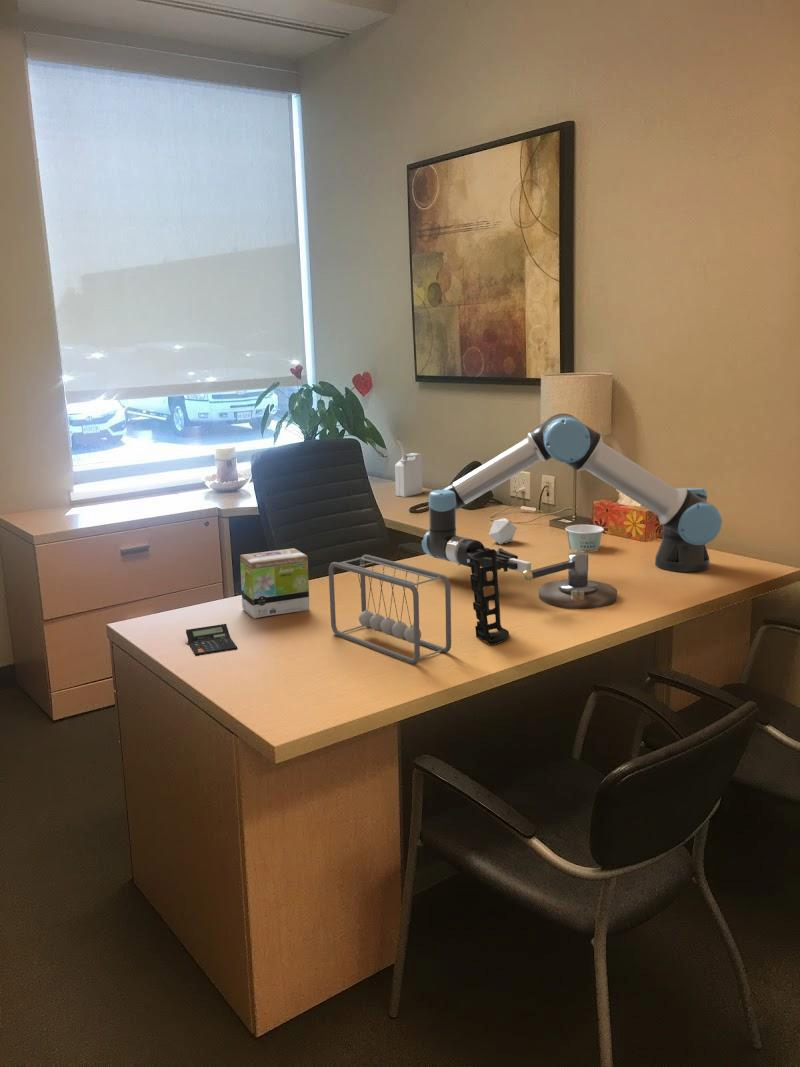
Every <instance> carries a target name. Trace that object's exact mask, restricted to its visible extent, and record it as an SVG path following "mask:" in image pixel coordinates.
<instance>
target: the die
mask: <svg viewBox="0 0 800 1067" xmlns="http://www.w3.org/2000/svg"><path fill="white" fill-rule="evenodd" d="M516 531H517V527H516V526H515V525H514V524H513V523H512V522H510V520H508V519H507V518H505V517H504V518H499V519H494V520H493V521H492V525H491V528H490V531H489V533H488V535H489V536H490V537H491V538H492V539H493V540H494V541H495V542H496V543H498V544H499V545H504V544H503V543H505V544H509V543H508V542H510V543H512V541H513V540H514V537H515V534H516Z"/></svg>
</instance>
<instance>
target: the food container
mask: <svg viewBox="0 0 800 1067" xmlns="http://www.w3.org/2000/svg"><path fill="white" fill-rule="evenodd" d="M564 529H565V530H566V533H567V541H568V548H569V549H570V550H571V549H572V550H571V551H573V550H577V551H576V552H579V551H592V552H596V551H595V550H597V551H599V550H598V549H600V545H601V541H602V536H603V532H604V530H605V528H604V527H603V526H600V525H593V524H573V525H568V526H566V527H565V528H564Z"/></svg>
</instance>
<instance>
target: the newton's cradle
mask: <svg viewBox="0 0 800 1067" xmlns="http://www.w3.org/2000/svg"><path fill="white" fill-rule="evenodd" d="M355 561H359V565H354V564H350V562H351V563H352V562H355ZM366 562H369V563H368V565H369V564H372V565H374V564H376V565H379V568H380V567H383V569H382V571H379V572H378V571H375V570H374V566H372V567H371V569H370V568H366V567H365V566H367V563H366ZM328 566H329V567H328V587H329V588H328V589H329V608H330V627H331V631H332V632H333V634H335V635H336V636H337V637H340V638H343V639H345V640H348V641H351V642H352V643H356V644H359V645H360V646H363V647H367V648H369V649H371V650H374V651H376V652H379V653H382V654H385V655H387V656H390V657H393V658H394V659H398V660H400V661H402V662H405V663H408V664H411V665H415V664H417V663H418V662H419V660H421V659H425V658H427V657H430V656H433V655H436V654H439V653H442V652H443V653H444V654H446V653H448V652H449V651H450V650H451V648H452V610H451V609H452V605H451V604H452V600H451V599H452V597H451V596H452V595H451V587H452V586H451V582H450V579H449V578H448V577H447V576H446V575H445V574H442V573H439V572H435V571H431V570H426V569H422V568H420V567H416V566H412V565H407V564H405V563H401V562H396V561H393V560H389V559H385V558H383V557H382V558H381V557H377V556H373V555H370V554H363V555H362V556H361V557H357V558H353V559H349V560H345V561H341V562H337V561H333V562H331V563H330V564H329V565H328ZM385 567H387V568H390V569H388V570H385ZM334 568H338V569H341V570H344V571H347V572H351V573H355V574H357V576H358V582H359V586H360V600H361V601H360V602H361V605H360V606H361V607H360V608H361V613H360V614H359V616H358V621H359V623H360V625H359V626H355V627H352V628H349V629H345V630H342V631H340V630H338V628H337V622H336V620H337V619H336V602H335V601H336V599H335V597H336V596H335V577H334V576H335V573H334ZM377 568H378V566H377V567H376V566H375V569H377ZM392 570H393V571H394V574H392V575H389V574H385V572H388V571H392ZM396 570H399V571H403V572H400V573H396ZM404 573H405V578H399V577H396V576H397V575H401V574H404ZM408 573H409V574H414V575H413V576H409V577H407V575H408ZM420 576H421V577H424V578H428V579H426V580H421V581H417V582H414V581H411V580H407V579H409V578H413V577H417V580H420V579H419V577H420ZM366 577H368V580H369V591H370V592H369V593H368V604H367V594H366V593H367V592H366ZM372 579H375V580H378V581H379V584H380V592H381V593H380V595H379V601H381V599H382V600H383V605H384V610H385V611H384V612H385V616H386V617H384V615H382V614H380V608H381V602H379V604H378V613H377V610H376V606H375V601H374V594H373V589H372ZM436 580H441V581H442V582H443V583H444V587H445V588H444V590H445V592H444V593H445V595H444V596H445V647H443V646H440V645H437V644H435V643H432V642H428V641H426V640H424V639H423V640H422V639H421V638H422V631H421V630H420V602H419V601H420V600H419V598H420V596H419V592H418V589H419V588H418V587H419V585H421V584H426V583H428V582H432V581H436ZM383 582H386V583H389V584H390V586H391V589H392V590H391V596H392V597H391V599H390V605H392V602H394V606H395V611H396V612H395V613H396V617H397V621H396V620H395V619H393V618H392V617H391V611H392V606H390V608H389V616H388V613H387V608H386V603H385V599H384V598H385V596H384V593H383V584H382V583H383ZM395 585H397V586H399V587H402V589H403V597H402V603H405V604H406V609H407V613H408V618H409V624H410V625H409V626H408V625H407V624H406V623H405V622H404V621H402V620H403V619H402V617H403V612H404V604H402V605H401V606H402V607H401V615H400V620H399V616H398V615H399V614H398V610H397V604H396V598H395V594H394V586H395ZM406 589H409V590H411V592H412V597H413V598H412V599H413V601H412V603H413V604H412V605H413V607H412V608H413V624H412V623H411V617H410V613H409V612H410V611H409V606H408V602H407V596H406ZM371 597H372V602H373V606H374V612H375V614H374V613H373V612H372V611H371V610H369V609H367V608H370V607H369V606H370V598H371ZM404 601H405V602H404ZM363 627H366V628H367V627H370V628H371V629H372V630H374V631H381V632H382V633H383V634H385V635H392V636H393V637H394V638H397V639H403V640H406V641H407V642H408V643H409V644H413V647H414V648H413V650H414V656H413V658H412V657H409V656H406V655H405V654H401V653H398V652H395V651H393V650H391V649H388V648H385V647H382V646H380V645H377V644H375V643H372V642H369V641H367V640H363V639H361V638H359V637H357V636H353V635H350V634H349V633H348V632H351V631H353V630H357V629H360V628H363ZM421 646H422V647H425V648H428V649H431V650H434V651H433V652H431V653H428V654H425V655H423V656H421V654H420V653H421V652H420V651H421V649H420V648H421Z"/></svg>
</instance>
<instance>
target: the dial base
mask: <svg viewBox="0 0 800 1067" xmlns="http://www.w3.org/2000/svg"><path fill="white" fill-rule="evenodd" d="M565 580H566V579H559V580H553V581H549V582H546V583H543V584H542V585H540V586H539V588H538V599H539V600H540V599H541V600H542V601H541V600H540V601H541V602H543V603H545V604H547V605H550V606H554V607H558V608H563V609H569V610H570V609H573V610H593V609H600V608H606V607H609V606H612V605H614V604H615V603H616V602H617V600H618V590H617V588H616V587H614V586H612V585H611V584H609V583H605V582H601V581H596V580H589V579H588V581H592V582H594V583H596V584H597V585H598V587H597V591H595V592H593V593H588V594H584V591H578V594H577V591H576V590H574V591H571V593H566V592H563V591H560V590H559V589H558V584H559V583H560V582H562V581H565Z"/></svg>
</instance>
